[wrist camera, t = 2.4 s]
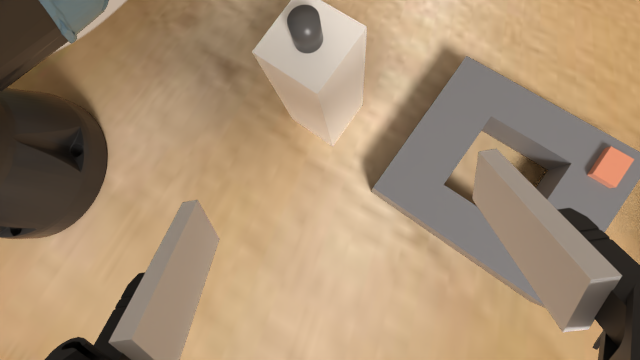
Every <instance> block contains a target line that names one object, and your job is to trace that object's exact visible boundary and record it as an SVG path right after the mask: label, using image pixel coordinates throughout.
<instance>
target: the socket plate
mask: <svg viewBox="0 0 640 360" xmlns="http://www.w3.org/2000/svg"><path fill="white" fill-rule="evenodd" d="M481 130H482V131H484V132H485V133H487V134H489V135H490V136H492V137H494V138H495V139H497V140H499V141H500V142H502V143H504V144H505V145H507V146H509V147H510V148H512V149H514V150H515V151H517V152H519V153H520V154H522V155H524V156H525V157H527V158H529V159H530V160H532V161H534V162H535V163H537V164H539V165H540V166H542V167H544V168H545V169H547V170H548V171H547V172H546V174H545V175H544V177H543V178H542V180H541V181H540V183H539V184H538V186H537V187H536V189H537V190H538V191H539V192H540V193H541V194H542V195H543V196H544V197H545V198H546V199H547V200H548V201H549V202H550V203H551V204H552V205H553V206H554V207H555V208H556V209H564V208H572V209H574V210H576V211H578V212H579V213H581V214H583V215H585V216H587V217H588V218H589V219H590V220H591V221H592V222H593V223H594V224H596V225H597V226H598V227H599V230H602V231H603V232H605V231H606V229H607V228H608V226H609V225H610V223H611V222H612V220H613V219H614V217H615V216H616V214H617V213H618V211H619V210H620V208H621V206H622V205H623V203H624V202H625V200H626V199H627V197H628V196H629V194H630V193H631V191H632V190H633V188H634V187H635V185H636V184H637V182H638V181H639V179H640V152H639V151H637V150H635V149H633V148H631V147H630V146H628V145H626V144H624V143H622V142H621V141H619V140H617V139H615V138H613V137H612V136H610V135H608V134H606V133H604V132H603V131H601V130H599V129H597V128H595V127H594V126H592V125H590V124H588V123H586V122H585V121H583V120H581V119H579V118H577V117H576V116H574V115H572V114H570V113H568V112H567V111H565V110H563V109H561V108H559V107H558V106H556V105H554V104H552V103H551V102H549V101H547V100H545V99H543V98H542V97H540V96H538V95H536V94H534V93H533V92H531V91H529V90H527V89H525V88H524V87H522V86H520V85H518V84H516V83H515V82H513V81H511V80H509V79H507V78H506V77H504V76H502V75H500V74H498V73H497V72H495V71H493V70H491V69H489V68H488V67H486V66H484V65H482V64H480V63H479V62H477V61H475V60H473V59H471V58H470V57H468V56H466V57H465V59H464V60H463V62H462V63H461V64H460V66H459V67H458V69H457V70H456V71H455V73H454V74H453V76H452V77H451V79H450V80H449V81H448V83H447V84H446V86H445V87H444V88H443V90H442V91H441V93H440V94H439V95H438V97H437V98H436V100H435V101H434V102H433V104H432V105H431V107H430V108H429V110H428V111H427V112H426V114H425V115H424V117H423V118H422V119H421V121H420V122H419V124H418V125H417V126H416V128H415V129H414V131H413V132H412V133H411V135H410V136H409V138H408V139H407V141H406V142H405V143H404V145H403V146H402V148H401V149H400V150H399V152H398V153H397V155H396V156H395V157H394V159H393V160H392V162H391V163H390V164H389V166H388V167H387V169H386V170H385V171H384V173H383V174H382V176H381V177H380V179H379V180H378V181H377V183H376V184H375V186H374V187H373V189H372V191H371V192H372V193H374V194H375V195H377V196H378V197H380V198H381V199H383V200H384V201H385V202H387V203H388V204H390V205H391V206H393V207H394V208H396V209H397V210H399V211H400V212H401V213H403V214H404V215H406V216H407V217H409V218H410V219H412V220H413V221H414V222H416V223H417V224H419V225H420V226H422V227H423V228H425V229H426V230H427V231H429V232H430V233H432V234H433V235H435V236H436V237H438V238H439V239H441V240H442V241H443V242H445V243H446V244H448V245H449V246H451V247H452V248H454V249H455V250H456V251H458V252H459V253H461V254H462V255H464V256H465V257H467V258H468V259H469V260H471V261H472V262H474V263H475V264H477V265H478V266H480V267H481V268H483V269H484V270H485V271H487V272H488V273H490V274H491V275H493V276H494V277H496V278H497V279H498V280H500V281H501V282H503V283H504V284H506V285H507V286H509V287H510V288H511V289H513V290H514V291H516V292H517V293H519V294H520V295H522V296H523V297H524V298H526V299H527V300H529V301H530V302H533V303H535V304H537V305H540V306H542V307H544V308H546V307H545V305H544V304H543V303H542V301H541V300H540V298H539V297H538V295H537V294H536V292H535V291H534V289H533V288H532V286H531V285H530V283H529V282H528V280H527V279H526V278H525V276H524V275H523V273H522V272H521V270H520V269H519V267H518V266H517V264H516V263H515V261H514V260H513V258H512V257H511V255H510V254H509V252H508V251H507V250H506V248H505V247H504V245H503V244H502V242H501V241H500V239H499V238H498V236H497V235H496V233H495V232H494V230H493V229H492V227H491V226H490V224H489V223H488V222H487V220H486V219H485V217H484V216H483V214H482V213H481V211H480V210H479V208H478V207H477V206H476V205H474V204H473V203H471V202H470V201H468V200H467V199H465V198H463V197H462V196H460V195H459V194H457V193H456V192H454V191H453V190H451V189H450V188H448V187H447V186H445V185H444V183H445V182H446V180H447V179H448V178H449V176H450V175H451V173H452V172H453V170H454V169H455V168H456V166H457V165H458V163H459V162H460V160H461V159H462V157H463V156H464V155H465V153H466V152H467V150H468V149H469V147H470V146H471V145H472V143H473V142H474V140H475V139H476V137H477V136H478V134H479V133H480V132H481ZM546 309H547V308H546Z"/></svg>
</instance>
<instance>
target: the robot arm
mask: <svg viewBox="0 0 640 360" xmlns="http://www.w3.org/2000/svg"><path fill="white" fill-rule="evenodd" d="M108 1H109V0H0V238H7V239H26V238H42V237H47V236H51V235H54V234H56V233H59V232H61V231H63V230H65V229H66V228H68V227H69V226H71V225H72V224H74V223H75V222H76V221H77V220H78V219H79V218H81V217H82V216H83V215H84V213H85V212H86V211H87V210H88V209H89V207H90V206H91V205H92V203H93V202H94V200H95V198H96V197H97V195H98V193H99V191H100V188H101V186H102V183H103V180H104V176H105V172H106V165H107V150H106V143H105V139H104V136H103V133H102V131H101V129H100V127H99V125H98V123H97V122H96V120H95V119H94V118H93V117H92V116H91V115H90V114H89V113H88V112H87V111H86V110H85V109H83V108H82V107H80V106H78V105H76V104H74V103H71V102H69V101H67V100H64V99H62V98H60V97H57V96H54V95H50V94H47V93H41V92H33V91H24V90H16V89H8V88H7V87H8V86H9V85H11V84H12V83H13V82H15V81H16V80H17V79H19V78H20V77H21V76H23V75H24V74H25V73H27V72H28V71H29V70H31V69H32V68H33V67H35V66H36V65H37V64H39V63H40V62H41V61H43V60H44V59H45V58H47V57H48V56H49V55H51V54H52V53H53V52H55V51H56V50H57V49H58V48H60V47H61V46H63V45H64V44H65V43H67V42H68V41H69V42H70V43H73V42H75V41H76V39H77V36H76V35H77V34H78V33H79V32H80V31H82V30H83V29H84V28H85V27H86V26H87V25H89V24H90V23H91V22H92V21H93V20H95V19H96V18H97V17H98V16H99V15H100V14H101V13H103V12H104V10H105V9H106V7H107V5H108ZM472 199H473V201H474V202H475V204H476V205H477V207H478V208H479V210H480V211H481V213H482V214H483V216H484V217H485V219H486V220H487V222H488V223H489V224H490V226H491V227H492V229H493V230H494V232H495V233H496V235H497V236H498V238H499V239H500V241H501V242H502V244H503V245H504V247H505V248H506V250H507V251H508V252H509V254H510V255H511V257H512V258H513V260H514V261H515V263H516V264H517V266H518V267H519V269H520V270H521V272H522V273H523V275H524V276H525V278H526V279H527V280H528V282H529V283H530V285H531V286H532V288H533V289H534V291H535V292H536V294H537V295H538V297H539V298H540V300H541V301H542V303H543V304H544V305H545V307H546V308H547V310H548V311H549V313H550V314H551V316H552V317H553V319H554V320H555V322H556V323H557V325H558V326H559V328H560V329H561V331H562V332H570V331H578V330H587V329H589V328H590V326H591V324H592V323H593V321H594V320H596V321H597V322H598V323H599V325H600V326H601V327H602V328H603V332H602V333H601V335H600V336H599V337H598V339H597V340H596V342H595V344H594V346H593V348H594V349H596V350H597V349H598V348H599V356H598V360H640V265H639V264H638V263H637V262H636V261H634V260H633V259H632V258H631V257H630V256H629V255H628V254H627V253H626V252H625V251H624V250H623V249H622V248H620V247H619V246H618V245H617V244H616V243H615V242H614V241H613V240H610V239H609V236H607V235H606V234H605V233H604V232H603V231H602V230H599V227H598V226H597V225H596V224H594V223H593V222H592V221H591V220H590V219H589V218H588V217H587V216H585V215H583V214H581V213H579V212H578V211H576V210H574V209H572V208H564V209H556V208H555V207H554V206H553V205H552V204H551V203H550V202H549V201H548V200H547V199H546V198H545V197H544V196H543V195H542V194H541V193H540V192H539V191H538V190H537V189H536V188H535V187H534V186H533V185H532V184H531V183H530V182H529V181H528V180H527V179H526V178H525V177H524V176H523V175H522V174H521V173H520V172H519V171H518V170H517V169H516V168H515V167H514V166H513V165H512V164H511V163H510V162H509V161H508V160H507V159H506V158H505V157H504V156H503V155H502V154H501V153H500V152H499V151H498V150H497V149H491V150H485V151H479V152H478V159H477V166H476V174H475V182H474V189H473V197H472ZM218 242H219V237H218V235H217V233H216V232H215V230H214V228H213V226H212V224H211V223H210V221H209V219H208V217H207V216H206V214H205V212H204V210H203V208H202V207H201V205H200V203H199V201H198V200H194V201H188V202H183V203H182V205H181V207H180V208H179V210H178V212H177V214H176V216H175V218H174V220H173V222H172V223H171V225H170V227H169V229H168V231H167V233H166V235H165V237H164V239H163V240H162V242H161V244H160V246H159V248H158V250H157V252H156V254H155V255H154V257H153V259H152V261H151V263H150V265H149V267H148V269H147V270H146V272H145V273H139V274H138V275H137V276H136V277H135V278H134V279H133V280H132V281H131V282H130V283H129V284H128V286H127V288H126V289H125V291H124V293H123V295H122V296H121V300H119V302H118V303H117V305H116V307H115V308H116V309H115V310H114V311H113V312H112V314H111V316H110V318H109V319H108V321H107V323H106V325H105V326H104V328H103V330H102V332H101V334H100V335H99V337H98V339H97V341H96V342H95V344H94V346H93V345H92V344H91V343H89V342H88V341H87V340H86V339H84V338H80V337H77V338H72V339H69V340H68V341H66V342H64V343H62V344H61V345H59V346H58V347H57V348H56V349H54V350H53V351H52V352H51V353H50V354H49V356H48V357H47V358H46V359H45V360H180V357H181V354H182V351H183V348H184V345H185V342H186V339H187V336H188V333H189V330H190V327H191V324H192V321H193V318H194V315H195V312H196V309H197V306H198V303H199V300H200V297H201V294H202V291H203V288H204V285H205V281H206V278H207V275H208V272H209V269H210V266H211V263H212V260H213V257H214V254H215V251H216V248H217V245H218ZM599 346H600V347H599Z"/></svg>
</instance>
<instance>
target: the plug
mask: <svg viewBox="0 0 640 360" xmlns="http://www.w3.org/2000/svg"><path fill="white" fill-rule="evenodd" d="M366 35H367V27H366V26H365V25H363V24H361V23H360V22H358V21H356V20H354V19H353V18H351V17H349V16H347V15H346V14H344V13H342V12H340V11H339V10H337V9H335V8H333V7H332V6H330V5H328V4H326V3H325V2H323V1H321V0H291V1H290V2H289V3H288V5H287V6H286V7H285V9H284V10H283V11H282V13H281V14H280V15H279V17H278V18H277V19H276V21H275V22H274V23H273V25H272V26H271V27H270V28H269V30H268V31H267V32H266V34H265V35H264V36H263V38H262V39H261V40H260V42H259V43H258V44H257V46H256V47H255V48H254V50H253V51H252V53H253V55H254V56H255V58H256V60H257V61H258V63H259V65H260V66H261V68H262V70H263V71H264V73H265V75H266V76H267V78H268V80H269V81H270V83H271V85H272V86H273V88H274V90H275V91H276V93H277V94H278V96H279V98H280V99H281V101H282V103H283V104H284V106H285V108H286V109H287V111H288V113H289V114H290V116H291V118H292V119H293V120H294V121H296V122H297V123H299V124H300V125H302V126H303V127H305V128H306V129H308V130H309V131H311V132H312V133H314V134H315V135H317V136H318V137H320V138H321V139H322V140H324V141H325V142H327V143H328V144H330V145H331V146H334V144H335V143H336V141H337V140H338V139H339V137H340V136H341V135H342V133H343V132H344V130H345V129H346V128H347V126H348V125H349V124H350V122H351V121H352V119H353V118H354V117H355V115H356V114H357V112H358V111H359V110H360V108H361V107H362V106H363V89H364V71H365V53H366Z"/></svg>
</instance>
